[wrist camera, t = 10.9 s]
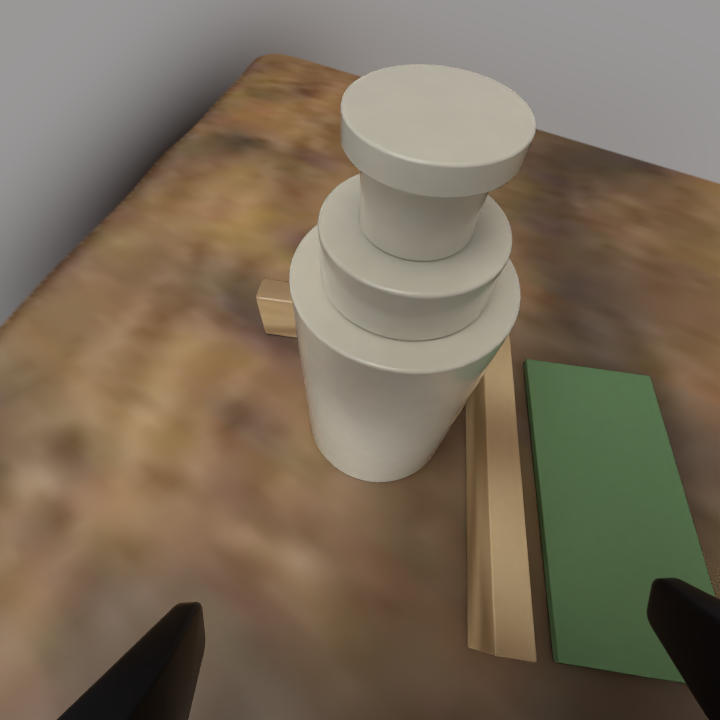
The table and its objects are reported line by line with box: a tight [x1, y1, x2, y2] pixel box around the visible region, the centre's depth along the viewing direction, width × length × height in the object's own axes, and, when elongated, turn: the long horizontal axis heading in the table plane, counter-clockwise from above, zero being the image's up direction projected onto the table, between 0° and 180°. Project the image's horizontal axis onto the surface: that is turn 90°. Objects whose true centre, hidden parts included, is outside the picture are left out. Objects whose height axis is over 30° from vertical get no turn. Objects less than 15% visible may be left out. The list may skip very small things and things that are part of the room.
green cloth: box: [523, 359, 715, 683], centre depth 16 cm, size 12×6×1 cm, turn 172°
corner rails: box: [256, 279, 537, 662], centre depth 16 cm, size 13×11×3 cm
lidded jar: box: [289, 64, 536, 482], centre depth 12 cm, size 6×6×13 cm
